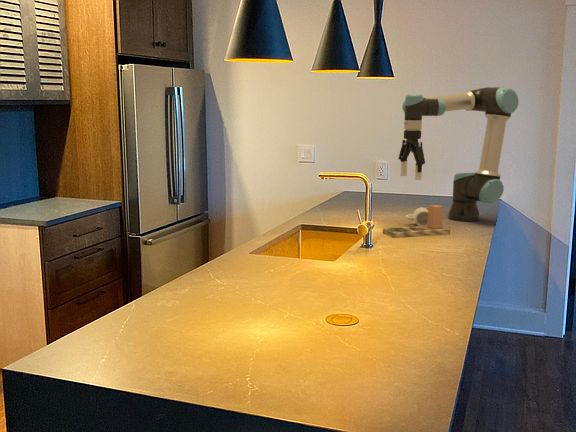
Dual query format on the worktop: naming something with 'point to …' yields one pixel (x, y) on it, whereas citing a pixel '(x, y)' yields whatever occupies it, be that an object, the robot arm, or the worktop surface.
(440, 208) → the peg block
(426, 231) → the compartment tray
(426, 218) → the mug
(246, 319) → the worktop surface
